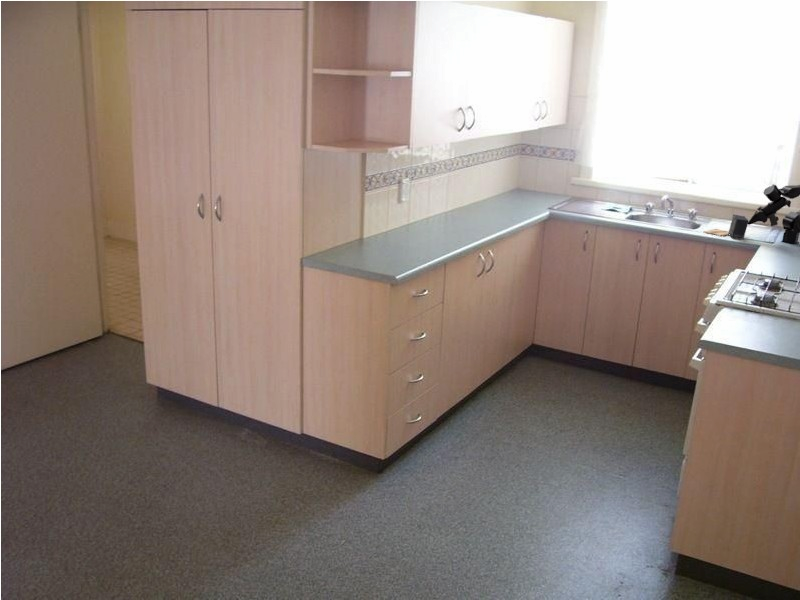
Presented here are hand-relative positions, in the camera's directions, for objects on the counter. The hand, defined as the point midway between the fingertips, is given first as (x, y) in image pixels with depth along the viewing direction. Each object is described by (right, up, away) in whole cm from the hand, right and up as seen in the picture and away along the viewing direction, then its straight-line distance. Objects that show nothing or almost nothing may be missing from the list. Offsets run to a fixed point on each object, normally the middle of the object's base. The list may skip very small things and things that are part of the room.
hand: (748, 224), depth 414 cm
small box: (-4, -6, +6) cm, 9 cm away
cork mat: (-10, -4, +13) cm, 17 cm away
